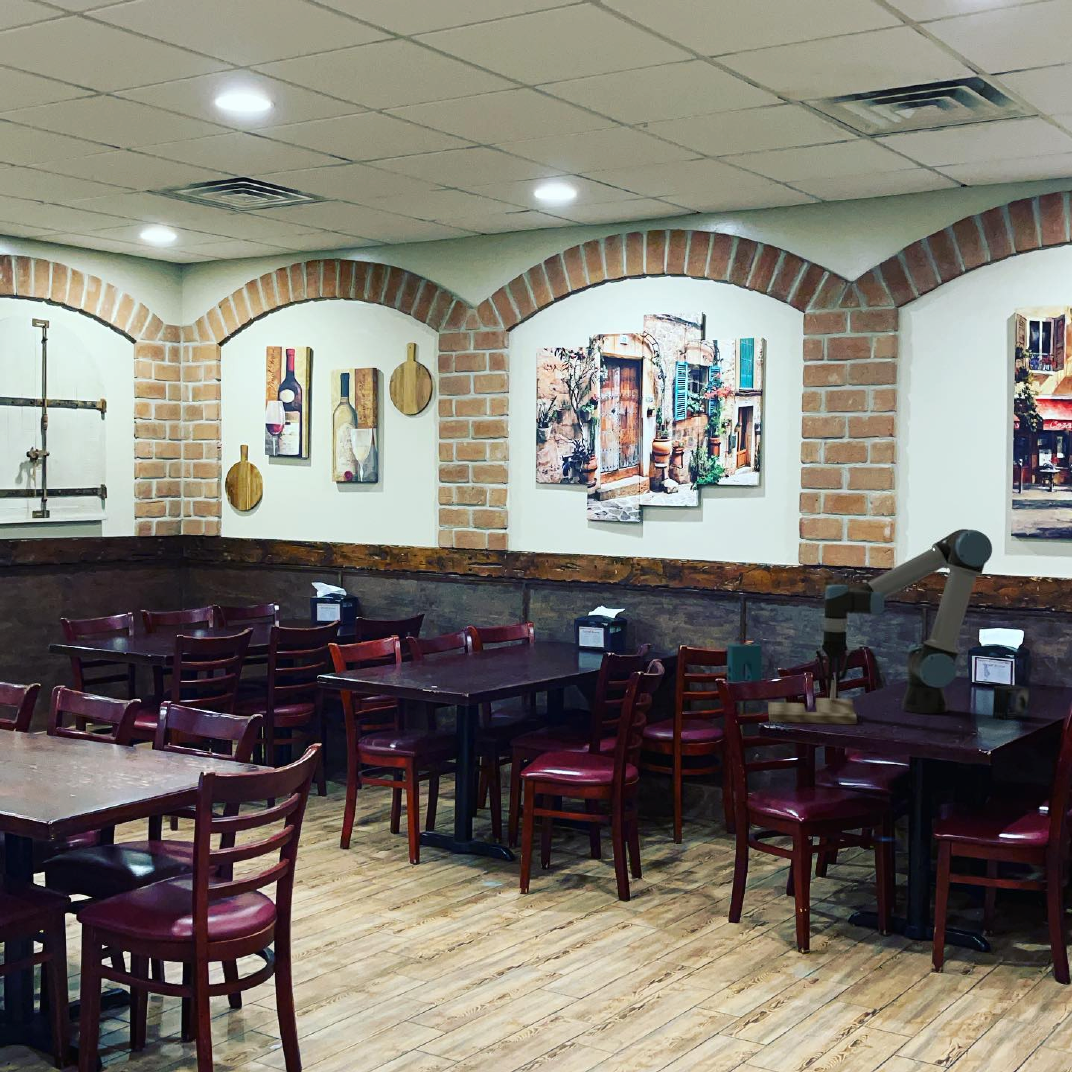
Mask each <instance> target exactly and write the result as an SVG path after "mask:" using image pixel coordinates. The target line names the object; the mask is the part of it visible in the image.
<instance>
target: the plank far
mask: <svg viewBox="0 0 1072 1072" xmlns="http://www.w3.org/2000/svg"><path fill="white" fill-rule="evenodd" d="M767 706H768V707H767V712H768V714H769V711H789V712H807V711H806V706H805V703H802V702H801V703H800V702H770V701H769V702H767Z"/></svg>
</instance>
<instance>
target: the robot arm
mask: <svg viewBox="0 0 1072 1072" xmlns="http://www.w3.org/2000/svg"><path fill="white" fill-rule="evenodd" d="M992 553H993V545H992V542H991V540H990V539H989V537H988V535H986V534H984V533H983V532H981V531H979V530H977V529H976V530H975V529H967V528H966V529H965V528H963V529H958V530H955V531H953V532H952V533H950V534H948V535H947V536H945V537H944V538H941V539H940V540H938V541H936V542H935V543H933V544H932V545H931V548H930V549H928V550H926V551H924V552H922V553H921V554H919V555H916V556H915V557H913V558H911V559H910V560H908V561H905V562H903V563H902V564H900V565H898V566H896V567H894V568H893V569H890V570H889V571H887V572H885V573H883V574H881V575H879V576H877V577H875V578H874V579H871V580H870V581H868V582H866V583H864V584H862V585H860V586H859V587H853V588H851V589H850V590H849V587H848V585H846V584H828V585H826V587H825V593H824V594H825V595H824V617H823V618H824V619H823V621H824V622H823V629H824V631H823V641H822V644H821V647H820V648H818V649H815V650H814V651H815V655H816V656H817V657H818V663H819V667H820V673H821V677H822V679H824V680H826V681H827V684H826V689H827V690H828V691H830V694H829V695H830V696H829V698H830V700H836V699H837V697H836V696H837V691H839V690H840V682H841V681H843V680H845V679H846V677H847V673H848V669H849V665H850V663H851V659H852V658H853V656H854V655H855V653H854V651H852V650H850V649H849V648H848V646H847V631H846V630H847V627H848V626H847V625H848V614H857V615H858V614H862V615H880V614H882V613H884V610H885V599H887V598H888V597H890V596H891V595H893V594H895V593H897V592H899V591H902V590H903V589H906V588H907V587H909V586H910V585H912V584H914V583H916V582H918V581H920V580H922V579H924V578H925V577H927V576H929V575H932V574H933V573H935V572H937V571H939V570H941V569H949V571H948V576H947V580H946V582H945V586H944V591H943V593H942V596H941V600H940V603H939V607H938V609H937V610H938V611H937V613H936V617H935V620H934V624H933V628H932V631H931V634H930V636H929V639H927V640H925V641H924V642H923V643H922V644H910V645H909V647H908V650H907V651H908V652H907V657H908V658H907V689H906V691H905V693H904V697H903V700H902V703H901V706H902V707H901V710H903V711H905V712H909V713H916V714H917V713H918V714H928V715H929V714H932V715H933V714H943V713H947V712H948V703H947V700H946V697H945V692H944V690H943V687H946V686H948V685H949V684H951V683H952V682H953V681H954V680H955V678H956V675H957V664H956V663H957V659H958V655H959V650H958V649H957V646H956V645H957V642H958V639H959V635H960V631H961V628H962V626H963V622H964V620H965V619H964V618H965V615H966V612H967V608H968V605H969V602H970V598H971V595H972V591H973V587H974V584H975V581H976V579H977V577H979V576H981V575H982V574H983V570H984V567H985V565H986V563H987V562H988V561H989V560H990V558H991V557H992ZM823 652H824V653H825V655H826V657H827V673H826V669H825V664H824V659H823ZM845 653H846V654H845ZM844 655H846V657H845V660H844V664H843V668H842V671H841V658H842V657H843V656H844ZM834 658H835V679H832V677H833V659H834Z"/></svg>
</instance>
